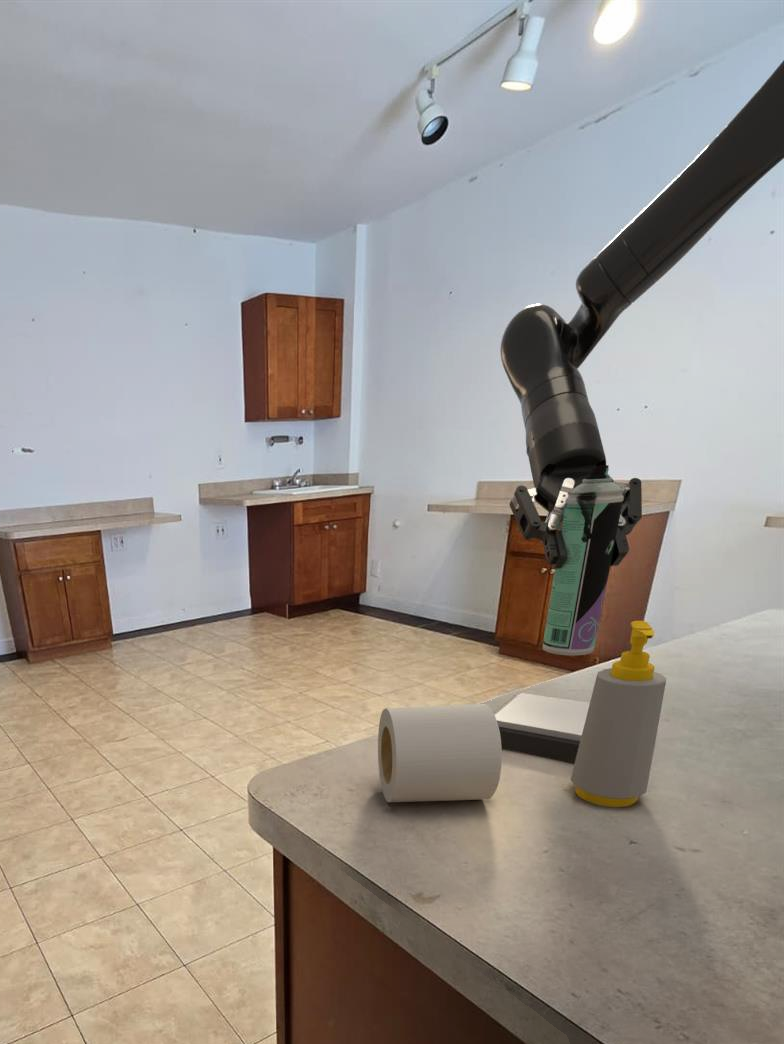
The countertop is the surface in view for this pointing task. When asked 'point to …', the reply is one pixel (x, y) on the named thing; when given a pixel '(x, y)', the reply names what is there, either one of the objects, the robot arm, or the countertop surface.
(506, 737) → the scale
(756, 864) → the countertop surface
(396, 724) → the toilet paper
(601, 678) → the soap bottle
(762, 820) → the countertop surface
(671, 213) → the robot arm
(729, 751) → the countertop surface
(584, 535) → the spray can
